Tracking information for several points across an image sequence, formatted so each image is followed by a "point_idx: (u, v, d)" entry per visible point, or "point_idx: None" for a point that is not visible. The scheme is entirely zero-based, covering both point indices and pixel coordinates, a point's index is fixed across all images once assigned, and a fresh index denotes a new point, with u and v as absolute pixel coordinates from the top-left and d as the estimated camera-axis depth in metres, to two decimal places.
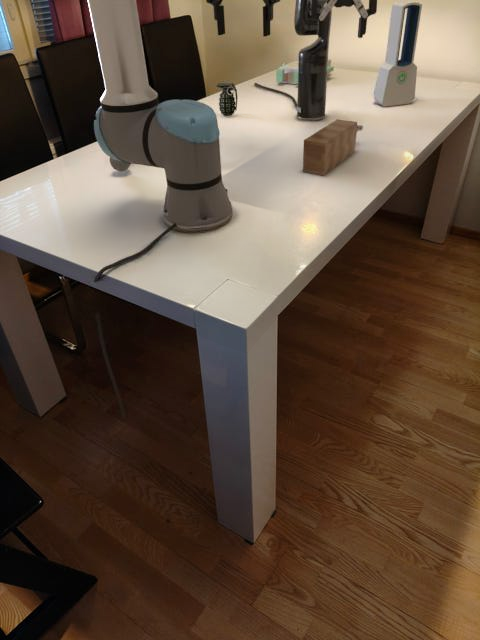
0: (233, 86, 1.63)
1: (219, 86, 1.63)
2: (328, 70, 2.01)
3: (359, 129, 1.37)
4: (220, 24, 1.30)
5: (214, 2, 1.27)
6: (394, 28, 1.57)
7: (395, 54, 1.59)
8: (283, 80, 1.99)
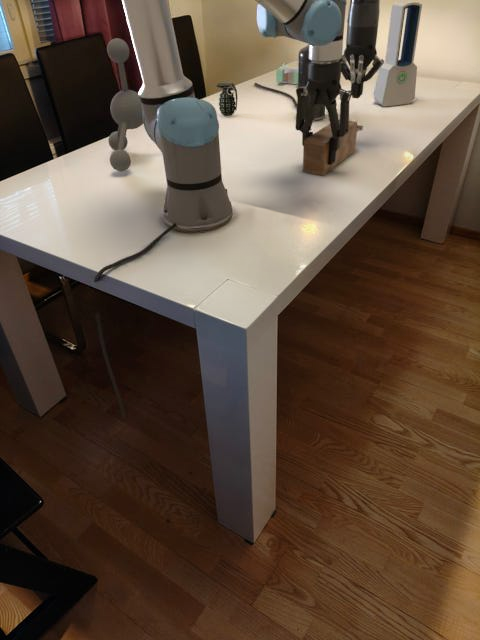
0: (233, 86, 1.63)
1: (219, 86, 1.63)
2: None
3: (359, 129, 1.37)
4: None
5: (303, 130, 1.22)
6: (394, 28, 1.57)
7: (395, 54, 1.59)
8: (283, 80, 1.99)
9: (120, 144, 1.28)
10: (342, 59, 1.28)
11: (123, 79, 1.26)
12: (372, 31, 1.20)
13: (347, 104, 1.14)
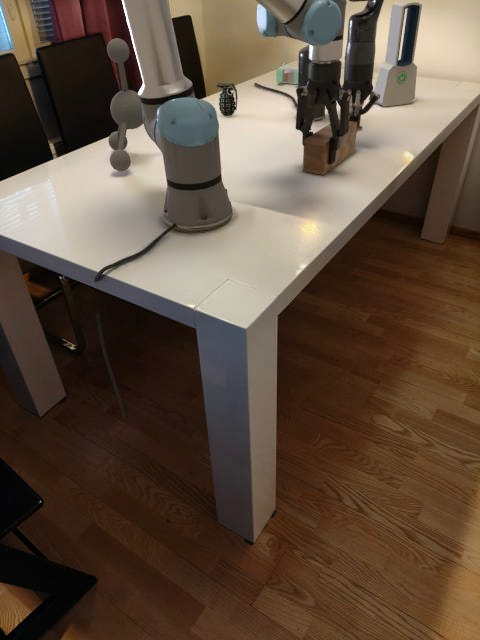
0: (233, 86, 1.63)
1: (219, 86, 1.63)
2: None
3: (359, 129, 1.37)
4: None
5: (303, 130, 1.22)
6: (394, 28, 1.57)
7: (395, 54, 1.59)
8: (283, 80, 1.99)
9: (120, 144, 1.28)
10: None
11: (123, 79, 1.26)
12: (368, 68, 1.25)
13: (347, 104, 1.14)
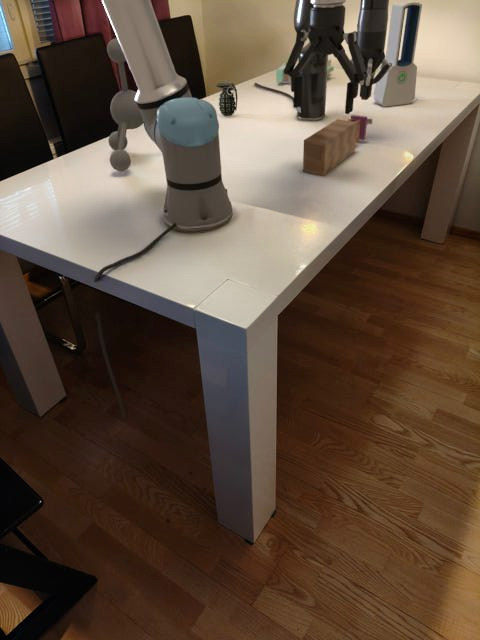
0: (233, 86, 1.63)
1: (219, 86, 1.63)
2: (328, 70, 2.01)
3: (369, 122, 1.41)
4: (297, 96, 1.18)
5: (292, 74, 1.16)
6: (394, 28, 1.57)
7: (395, 54, 1.59)
8: (283, 80, 1.99)
9: (120, 144, 1.28)
10: (352, 62, 1.34)
11: (123, 79, 1.26)
12: (381, 35, 1.25)
13: (356, 45, 1.06)
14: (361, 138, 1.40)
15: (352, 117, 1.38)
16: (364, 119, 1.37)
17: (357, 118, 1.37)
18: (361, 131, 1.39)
